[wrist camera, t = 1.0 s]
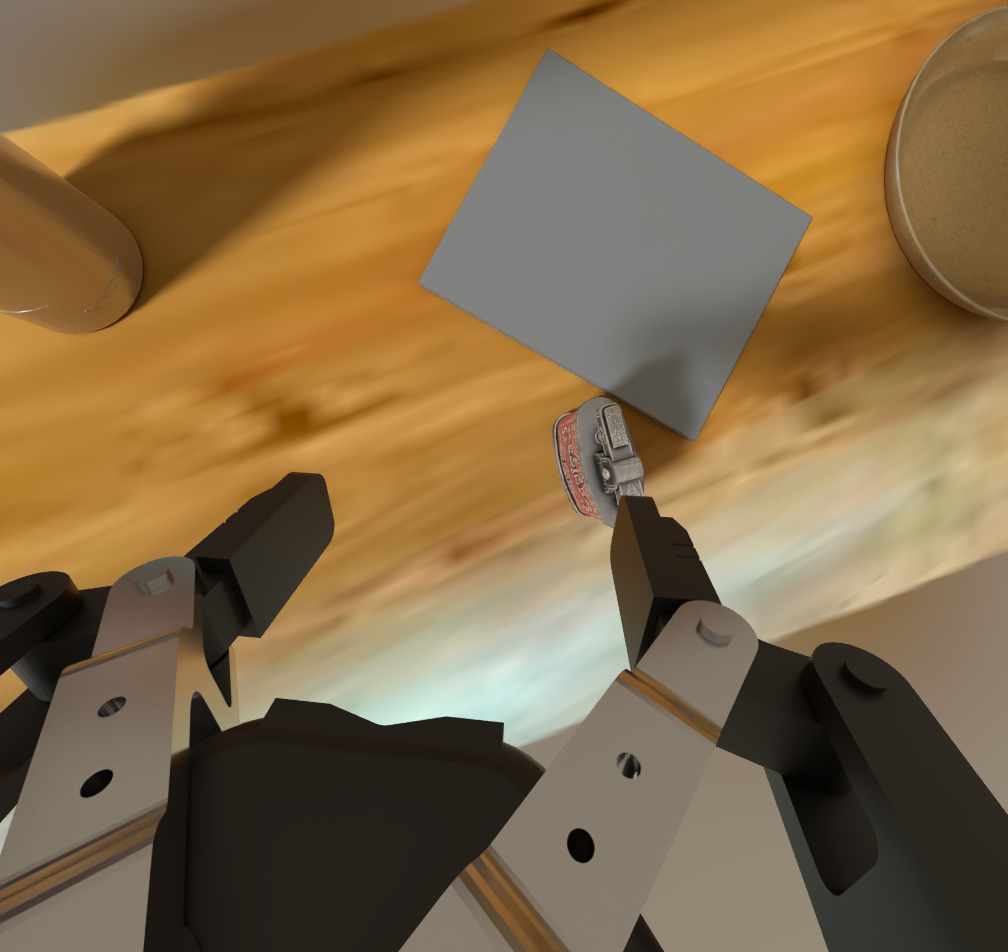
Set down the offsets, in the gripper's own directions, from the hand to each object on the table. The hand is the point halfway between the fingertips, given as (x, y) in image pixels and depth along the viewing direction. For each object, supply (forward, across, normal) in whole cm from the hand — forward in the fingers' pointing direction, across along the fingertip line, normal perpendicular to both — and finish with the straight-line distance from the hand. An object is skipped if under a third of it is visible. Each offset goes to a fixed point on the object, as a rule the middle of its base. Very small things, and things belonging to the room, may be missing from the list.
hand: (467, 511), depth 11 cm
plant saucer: (+37, -38, -11) cm, 54 cm away
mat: (+28, -7, -6) cm, 29 cm away
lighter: (+20, -5, +9) cm, 22 cm away
